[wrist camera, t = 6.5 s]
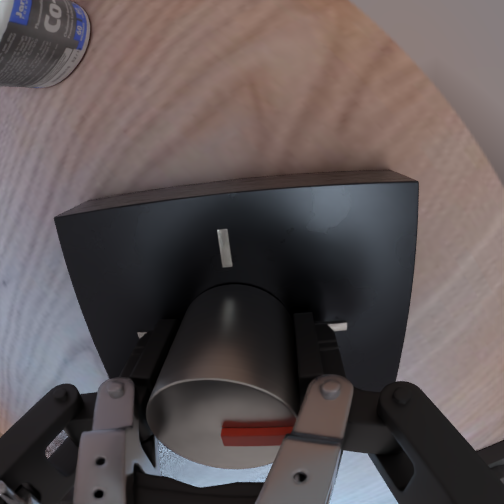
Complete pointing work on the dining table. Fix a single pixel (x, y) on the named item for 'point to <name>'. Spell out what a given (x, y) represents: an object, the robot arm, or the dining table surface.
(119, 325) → the panel
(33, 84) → the pill bottle
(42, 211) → the dining table surface
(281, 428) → the knob
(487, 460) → the button block
